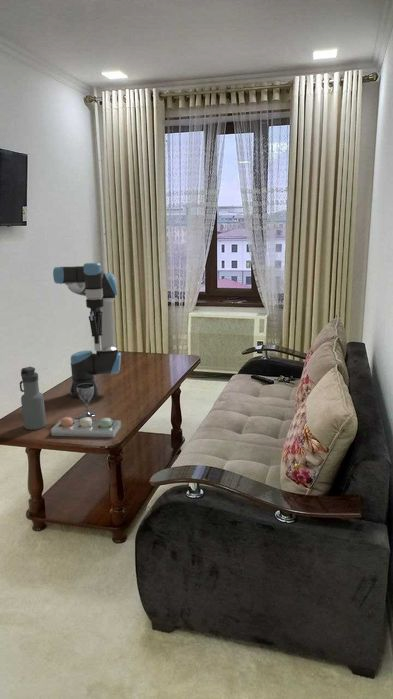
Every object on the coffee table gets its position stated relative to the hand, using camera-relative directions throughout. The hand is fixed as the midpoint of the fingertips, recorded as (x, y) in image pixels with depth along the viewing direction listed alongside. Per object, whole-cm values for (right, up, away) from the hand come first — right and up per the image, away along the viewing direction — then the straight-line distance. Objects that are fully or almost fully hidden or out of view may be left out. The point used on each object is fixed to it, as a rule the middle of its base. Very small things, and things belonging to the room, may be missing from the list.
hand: (98, 350), depth 230 cm
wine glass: (-8, -32, +16) cm, 37 cm away
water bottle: (-30, -35, +4) cm, 46 cm away
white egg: (-5, -36, -3) cm, 36 cm away
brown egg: (-14, -36, -2) cm, 38 cm away
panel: (-5, -36, -3) cm, 37 cm away
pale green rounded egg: (+4, -36, -4) cm, 36 cm away
